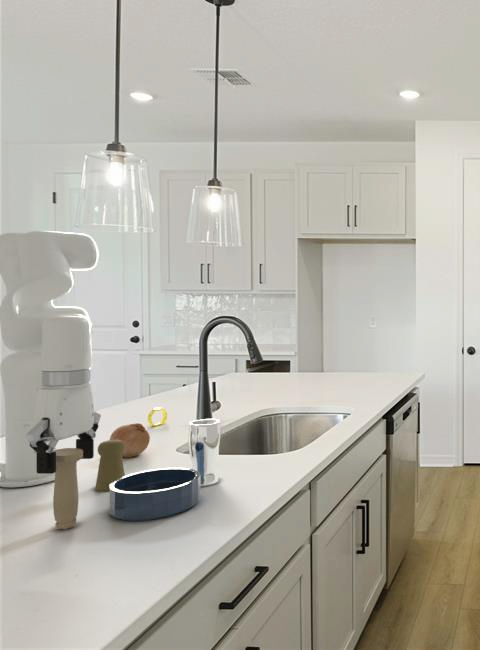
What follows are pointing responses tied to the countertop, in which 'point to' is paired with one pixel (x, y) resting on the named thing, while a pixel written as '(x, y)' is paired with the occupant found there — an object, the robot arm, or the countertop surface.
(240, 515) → the countertop surface
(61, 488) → the handle
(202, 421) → the beer glass
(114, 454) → the olive tapered shaker
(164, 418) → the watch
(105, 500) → the countertop surface
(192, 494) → the bowl
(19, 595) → the countertop surface
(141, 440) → the onion
